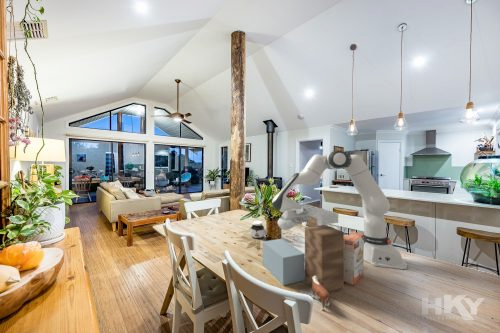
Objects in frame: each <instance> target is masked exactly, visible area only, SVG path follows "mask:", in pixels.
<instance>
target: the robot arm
mask: <svg viewBox="0 0 500 333" xmlns="http://www.w3.org/2000/svg"><path fill="white" fill-rule="evenodd" d="M326 169H327V170H340V169H344V170H345V171H346V173H347V174H348V176H349V179H350V180H351V182H352V184H353V186H354V188H355V190H356V191H357V192H358V194H359V195H360V197H361V202H362V203H361V204H362V214H363V233H362V234H364V261H365V262H367V263H369V264H371V265H372V266H375V267H382V268H389V269H398V270H400V269H401V270H406V269H407V268H408V263H407V261H406V260H405V259H403V256H402V254H401V252H400V250H399V249H398V248H396V247H395V246H394V245H392V240H391V239H390V237H389V236H387V235H386V234H387V227H386V226H387V224H386V220H385V218H386V217H385V215H386V214H387V213H388V212H389V211H390V209H391V205H390V201H389V199H388V198H387V197H386V194H385V193H384V192H383V190H382V189H381V187H380V186H379V185H378V183H377V181H376V180H375V178H374V177H373V174H372V173H371V172H370V168H368V166H367V164H366V163H365V160H363V158H362V157H361V156H360V155H358V154H348V153H346V152H345V151H343V150H341V149H336V150H335V149H334V150H332V151H330V152H328V154H325V155H321V154H318V153H317V154H313V156H311V157H310V159H309V160H308V162H306V164H305V166H304V167H303V168H302V170H301V171H299V172H296V173H294V174H293V175H292V176H291V177H290V178H289V179H288V181H287V182H286V183H285V184H284V186H282V188H281V189H280V190H279V191H278V193H276V195H274V197H273V198H272V200H271V205H272V208H273V209H274V210H276V211H279V212H280V213H282V215H281V216H280V217H279V219H278V220H277V225H278V227H279V229H281V230H284V231H286V230H287V231H288V230H291V229H292V228H294V227H296V226H298V225H301V224H302V223H305V222H306V223H307V222H309V221H311V220H312V219H313V218H314V217H311V216H309V215H306V214H303V213H302V212H305V208H301V205H302V204H300V203H298V201H295V200H293V199H291V198H289V197H288V196H287V195H288V194H289V193H290V191H291V190H292V188H294V186H297V185H304V186H313V185H316V184H317V183H318V182H319V180H320V179H321V177H322V175H323V173H324V172H325V170H326Z"/></svg>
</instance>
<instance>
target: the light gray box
mask: <svg viewBox="0 0 500 333" xmlns="http://www.w3.org/2000/svg"><path fill="white" fill-rule="evenodd" d="M300 205H301V208H305V212H302V213H303V214H306V215H309V216H311V217H313V218H315V219H316V224H317V225H331V224H337V223H339V213H338V212H335V211H332V210H328V209H324V208H320V207H318V206H313V205H310V204H307V203H306V204H300Z"/></svg>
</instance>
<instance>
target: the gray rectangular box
mask: <svg viewBox="0 0 500 333" xmlns="http://www.w3.org/2000/svg"><path fill="white" fill-rule="evenodd" d="M262 266H263V267H265V269H266V270H267V271H269V273H270V274H271V275H272V276H273V278H275V279H276V280H277V281H278V282H279V283H280V284H281V285H282V286H286V285H287V286H288V285H291V284H295V283H299V282H302V281H305V252H303V251H301V250H300V249H298V248H297V247H295V246H294V245H292V244H291V243H289V242H287V241H286V240H285V239H283V238H277V239H271V240H265V241H262Z"/></svg>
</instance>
